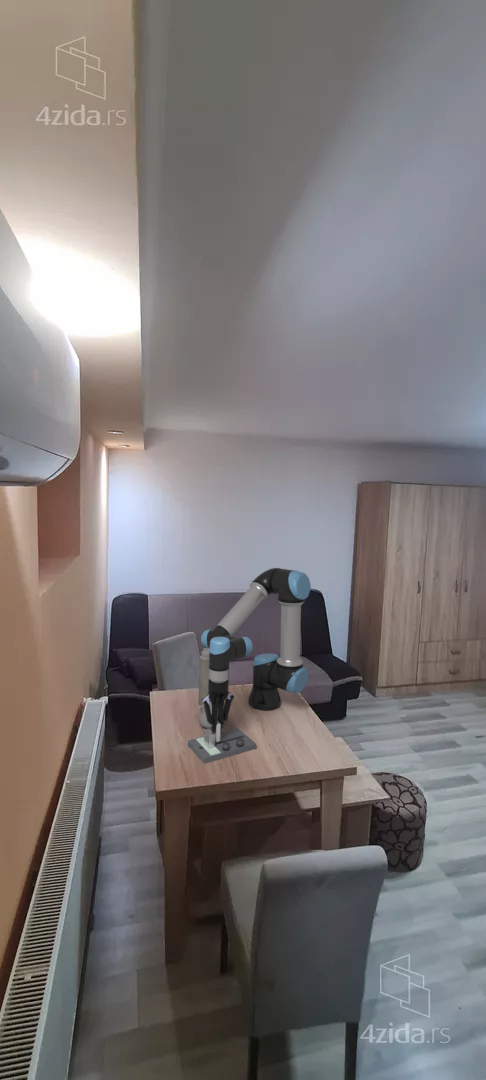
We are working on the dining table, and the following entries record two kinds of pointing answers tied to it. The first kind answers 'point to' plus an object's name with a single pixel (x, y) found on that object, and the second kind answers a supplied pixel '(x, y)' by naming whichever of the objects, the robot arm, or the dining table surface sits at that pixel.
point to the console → (222, 746)
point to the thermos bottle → (203, 675)
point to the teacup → (203, 717)
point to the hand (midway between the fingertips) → (216, 739)
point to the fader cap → (209, 738)
